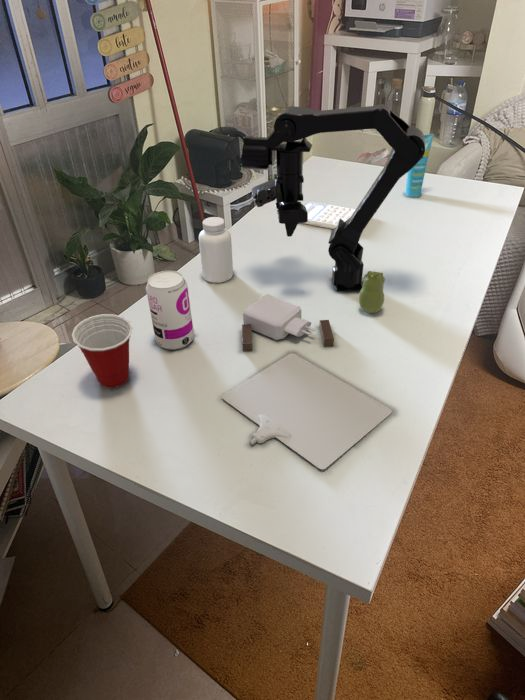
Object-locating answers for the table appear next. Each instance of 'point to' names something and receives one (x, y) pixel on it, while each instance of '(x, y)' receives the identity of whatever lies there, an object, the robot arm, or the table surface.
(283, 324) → the charger
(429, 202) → the table surface
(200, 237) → the pill bottle
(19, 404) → the table surface
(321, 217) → the calculator
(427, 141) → the tube
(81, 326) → the plastic cup
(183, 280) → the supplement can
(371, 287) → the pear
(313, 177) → the table surface
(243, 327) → the bay
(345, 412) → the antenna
